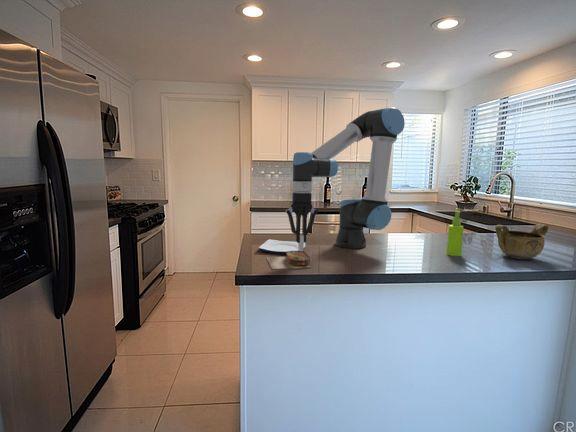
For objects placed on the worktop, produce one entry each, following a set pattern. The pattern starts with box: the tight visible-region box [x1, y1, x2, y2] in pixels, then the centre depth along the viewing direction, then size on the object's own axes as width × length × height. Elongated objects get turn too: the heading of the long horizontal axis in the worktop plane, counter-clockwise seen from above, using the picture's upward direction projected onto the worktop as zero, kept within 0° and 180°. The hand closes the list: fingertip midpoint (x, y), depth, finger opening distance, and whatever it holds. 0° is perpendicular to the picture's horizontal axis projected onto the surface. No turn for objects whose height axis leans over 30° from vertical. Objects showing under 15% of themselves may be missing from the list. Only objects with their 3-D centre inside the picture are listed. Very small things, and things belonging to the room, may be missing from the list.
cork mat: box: [265, 256, 312, 271], centre depth 135 cm, size 15×16×1 cm
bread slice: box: [285, 251, 311, 266], centre depth 136 cm, size 15×3×8 cm
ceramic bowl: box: [494, 223, 549, 260], centre depth 146 cm, size 22×17×15 cm
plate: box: [258, 239, 306, 255], centre depth 156 cm, size 20×20×3 cm
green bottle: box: [446, 209, 465, 257], centre depth 150 cm, size 6×7×20 cm
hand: (300, 250), depth 135 cm, fingers closed
